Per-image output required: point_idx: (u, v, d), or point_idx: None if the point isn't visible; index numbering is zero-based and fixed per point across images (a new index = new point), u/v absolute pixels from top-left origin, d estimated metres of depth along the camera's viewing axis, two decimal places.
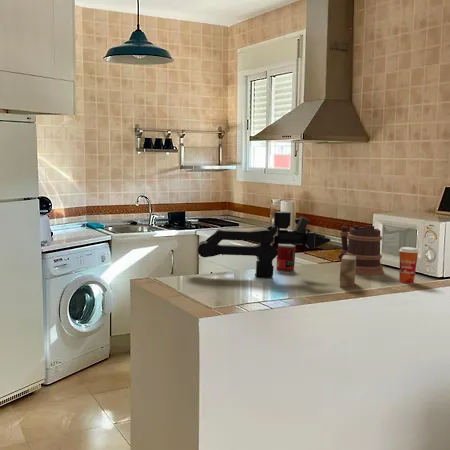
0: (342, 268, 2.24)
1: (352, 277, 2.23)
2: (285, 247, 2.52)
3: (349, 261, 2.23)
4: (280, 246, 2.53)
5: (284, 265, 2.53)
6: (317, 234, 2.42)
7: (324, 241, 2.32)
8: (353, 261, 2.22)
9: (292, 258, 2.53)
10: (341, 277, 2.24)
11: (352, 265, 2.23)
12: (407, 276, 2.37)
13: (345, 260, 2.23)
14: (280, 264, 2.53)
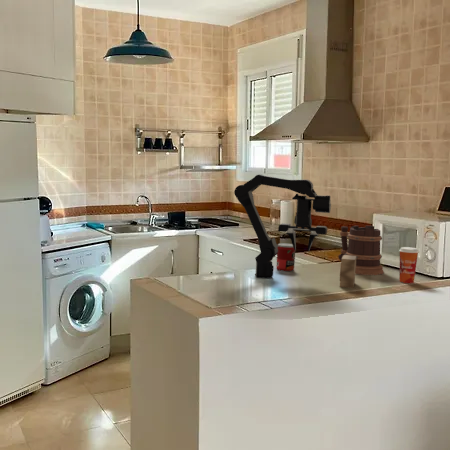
0: (342, 268, 2.24)
1: (352, 277, 2.23)
2: (285, 247, 2.52)
3: (349, 261, 2.23)
4: (280, 246, 2.53)
5: (284, 265, 2.53)
6: (295, 242, 2.34)
7: (310, 244, 2.31)
8: (353, 261, 2.22)
9: (292, 258, 2.53)
10: (341, 277, 2.24)
11: (352, 265, 2.23)
12: (407, 276, 2.37)
13: (345, 260, 2.23)
14: (280, 264, 2.53)
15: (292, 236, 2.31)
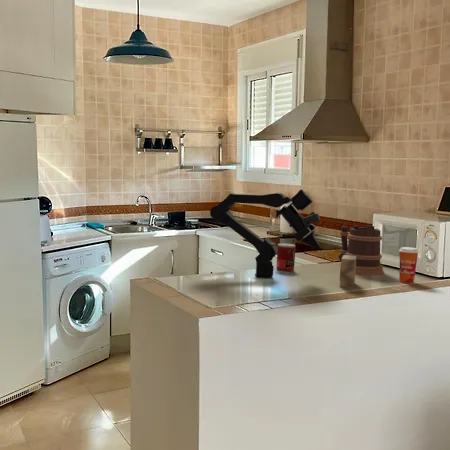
0: (342, 268, 2.24)
1: (352, 277, 2.23)
2: (285, 247, 2.52)
3: (349, 261, 2.23)
4: (280, 246, 2.53)
5: (284, 265, 2.53)
6: (316, 240, 2.31)
7: (314, 244, 2.30)
8: (353, 261, 2.22)
9: (292, 258, 2.53)
10: (341, 277, 2.24)
11: (352, 265, 2.23)
12: (407, 276, 2.37)
13: (345, 260, 2.23)
14: (280, 264, 2.53)
15: None
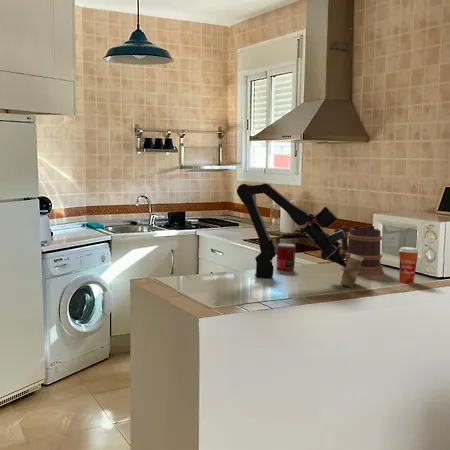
0: (347, 266, 2.23)
1: (355, 277, 2.23)
2: (285, 247, 2.52)
3: (356, 261, 2.22)
4: (280, 246, 2.53)
5: (284, 265, 2.53)
6: (341, 258, 2.29)
7: (339, 262, 2.28)
8: (360, 262, 2.22)
9: (292, 258, 2.53)
10: (344, 275, 2.24)
11: (358, 266, 2.22)
12: (407, 276, 2.37)
13: (352, 259, 2.22)
14: (280, 264, 2.53)
15: None
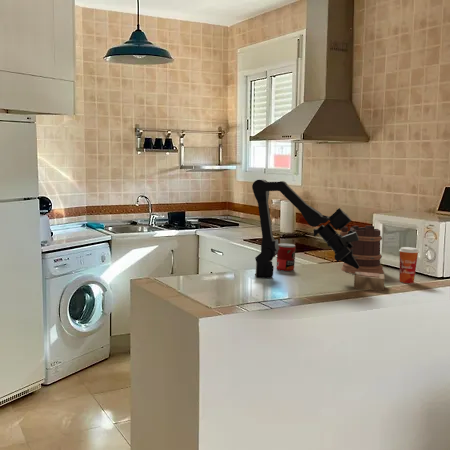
0: (374, 279, 2.21)
1: (364, 288, 2.22)
2: (285, 247, 2.52)
3: (381, 286, 2.20)
4: (280, 246, 2.53)
5: (284, 265, 2.53)
6: (355, 260, 2.27)
7: (352, 264, 2.26)
8: (381, 290, 2.21)
9: (292, 258, 2.53)
10: (364, 278, 2.22)
11: (377, 289, 2.21)
12: (407, 276, 2.37)
13: (382, 282, 2.20)
14: (280, 264, 2.53)
15: None
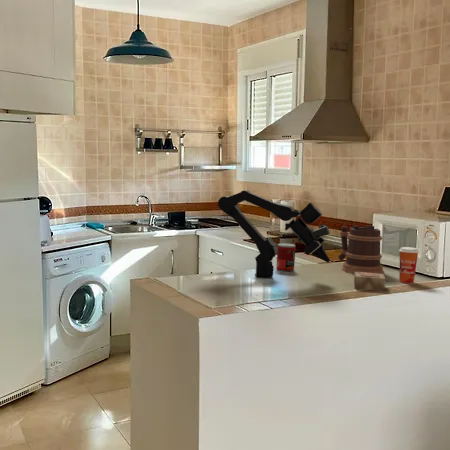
0: (374, 279, 2.21)
1: None
2: (285, 247, 2.52)
3: (382, 286, 2.21)
4: (280, 246, 2.53)
5: (284, 265, 2.53)
6: (325, 254, 2.30)
7: (323, 257, 2.29)
8: (382, 290, 2.21)
9: (292, 258, 2.53)
10: (365, 278, 2.22)
11: (378, 289, 2.21)
12: (407, 276, 2.37)
13: (383, 282, 2.20)
14: (280, 264, 2.53)
15: None
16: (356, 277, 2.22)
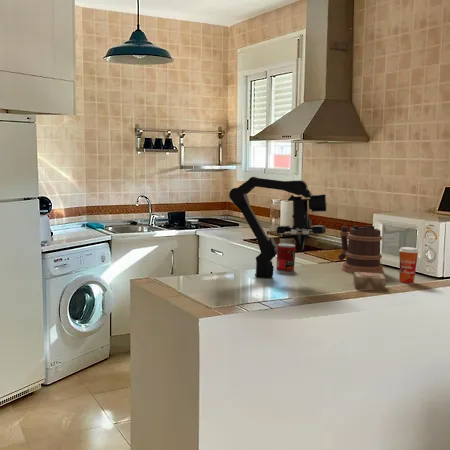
0: (375, 279, 2.21)
1: None
2: (285, 247, 2.52)
3: (382, 286, 2.21)
4: (280, 246, 2.53)
5: (284, 265, 2.53)
6: None
7: (303, 244, 2.32)
8: (383, 290, 2.21)
9: (292, 258, 2.53)
10: (366, 278, 2.21)
11: (378, 289, 2.21)
12: (407, 276, 2.37)
13: (383, 282, 2.21)
14: (280, 264, 2.53)
15: (296, 237, 2.31)
16: (357, 277, 2.22)
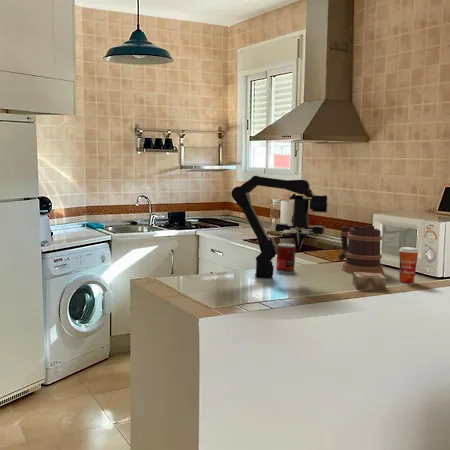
0: (376, 279, 2.21)
1: None
2: (285, 247, 2.52)
3: (383, 286, 2.21)
4: (280, 246, 2.53)
5: (284, 265, 2.53)
6: None
7: (301, 244, 2.33)
8: (383, 290, 2.21)
9: (292, 258, 2.53)
10: (366, 278, 2.21)
11: (379, 289, 2.21)
12: (407, 276, 2.37)
13: (384, 282, 2.21)
14: (280, 264, 2.53)
15: (295, 236, 2.31)
16: (358, 277, 2.22)
